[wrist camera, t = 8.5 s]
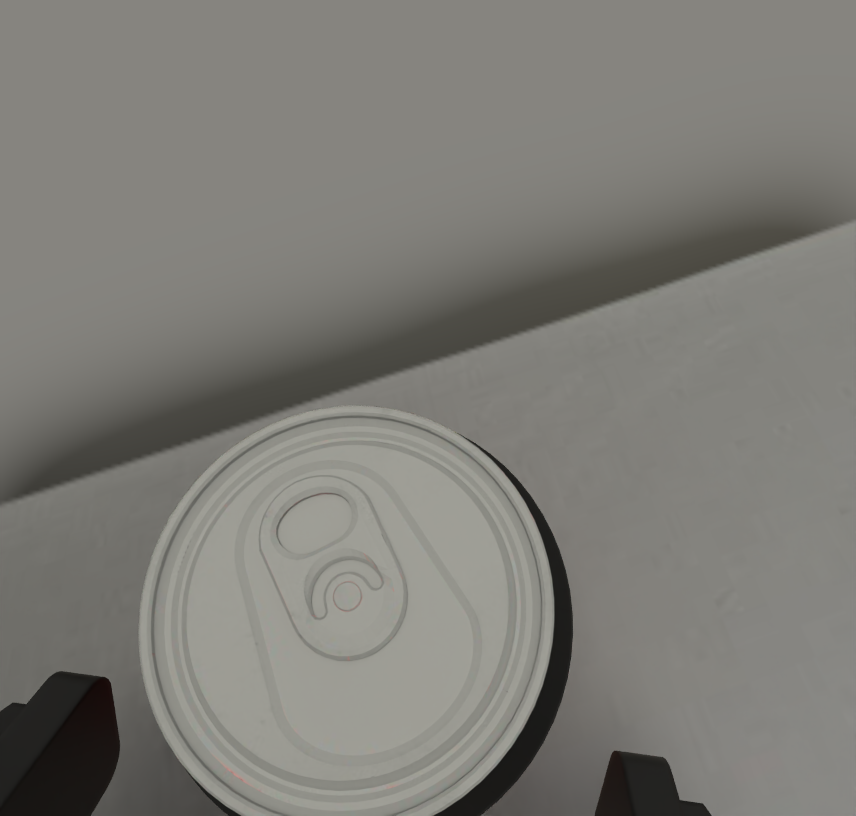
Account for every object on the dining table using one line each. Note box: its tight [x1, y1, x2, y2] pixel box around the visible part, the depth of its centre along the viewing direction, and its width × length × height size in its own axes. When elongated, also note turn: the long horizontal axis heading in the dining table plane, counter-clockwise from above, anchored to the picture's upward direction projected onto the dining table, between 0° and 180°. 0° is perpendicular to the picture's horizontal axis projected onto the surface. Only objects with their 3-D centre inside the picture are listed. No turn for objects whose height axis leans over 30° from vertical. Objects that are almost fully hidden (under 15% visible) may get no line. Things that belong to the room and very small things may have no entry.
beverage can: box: [138, 405, 573, 816], centre depth 13 cm, size 6×6×12 cm
